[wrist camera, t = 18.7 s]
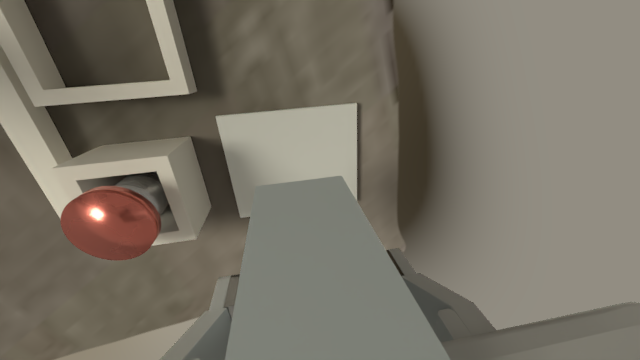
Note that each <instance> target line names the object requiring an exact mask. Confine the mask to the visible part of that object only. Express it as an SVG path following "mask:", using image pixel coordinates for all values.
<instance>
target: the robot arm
mask: <svg viewBox="0 0 640 360" xmlns="http://www.w3.org/2000/svg"><path fill="white" fill-rule="evenodd" d="M386 251H387V253H388V255H389V257H390V258H391V260H392V262H393V263H394V265H395V267H396V268H397V270H398V272H399V273H400V275H401V277H402V278H403V280H404V282H405V284H406V285H407V287H408V289H409V290H410V292H411V294H412V295H413V297H414V299H415V300H416V302H417V304H418V305H419V307H420V309H421V311H422V312H423V314H424V316H425V317H426V319H427V321H428V322H429V324H430V326H431V327H432V329H433V331H434V333H435V334H436V336H437V338H438V339H439V341H440V343H441V344H442V346H443V348H444V349H445V351H446V353H447V354H448V356H449V358H450V360H640V303H636V302H628V303H621V304H616V305H612V306H607V307H603V308H598V309H594V310H589V311H585V312H580V313H575V314H570V315H566V316H561V317H557V318H552V319H547V320H543V321H538V322H533V323H529V324H524V325H520V326H515V327H510V328H506V329H501V330H496V329H495V328H494V327H493V326H492V324H491V323H490V322H489V321H488V320H487V319H486V317H485V316H484V315H483V314H482V312H481V311H480V310H479V309H478V308H477V306H476V305H475V304H474V303H473V302H471V301H469V300H468V299H465V298H464V297H462V296H460V295H459V294H457V293H455V292H453V291H451V290H449V289H448V288H446V287H444V286H442V285H440V284H438V283H437V282H435V281H433V280H431V279H430V278H428V277H426V276H424V275H422V274H421V273H416V272H415V271H414V269H413V268H412V266H411V265H410V263H409V262H408V260H407V259H406V258H405V256H404V254H403V253H402V252H401V250H400V249H399V248H395V249H390V250H386ZM239 277H240V274H238V275H231V276H226V277H219V279H218V280H217V284H216V287H215V291H214V294H213V298H212V301H211V305H210V308H209V311H205V312H204V313H203V314H202V315H201V316H200V317H199V318H198V319H197V321H196V322H195V323H194V324H193V325H192V326H191V327H190V328H189V329H188V330H187V331H186V332H185V333H184V334H183V335H182V337H181V338H180V339H179V340H178V341H177V342H176V343H175V344H174V345H173V346H172V347H171V348H170V349H169V350H168V351H167V352H166V354H165V355H164V356H163V357H162V358H161V359H160V360H225V356H226V350H227V345H228V339H229V334H230V328H231V322H232V317H233V311H234V305H235V300H236V294H237V288H238V283H239Z"/></svg>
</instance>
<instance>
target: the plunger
mask: <svg viewBox="0 0 640 360" xmlns="http://www.w3.org/2000/svg"><path fill="white" fill-rule="evenodd" d="M168 205H169V202H168V200H167V197H166V195H165V192H164V189H163V187H162V184H161V182H160V179H159V177H158V174H157V171H154V172H146V173H137V174H129V175H128V176H127V177H125V178H124V179H123V180H121V181H120V182H119V183H117V184H116V185H114V186H100V187H95V188H92V189H90V190H87V191H86V192H84V193H82V194H81V195H79V196H78V197H76V198H75V199H73V200H72V201H70V202H69V203H68V204H67V205H66V206H65V208H64V209H63V211H62V214H61V227H62V230H63V232H64V234H65V235H66V237H67V238H68V239H69V241H70V242H71V243H72V244H74V245H75V246H76V247H77V248H79V249H80V250H82V251H84V252H85V253H87V254H90V255H92V256H95V257H98V258H102V259H107V260H127V259H132V258H135V257H137V256H140V255H142V254H143V253H145V252H146V251H147V250H148V249H149V248H150V247H151V245H152V244H153V243H154V241H155V240H156V238H157V237H158V235H159V233H160V231H161V218H160V215H161V214H162V212H163V211H164V210H165V209H166V207H167V206H168Z"/></svg>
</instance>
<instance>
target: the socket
mask: <svg viewBox="0 0 640 360" xmlns="http://www.w3.org/2000/svg"><path fill="white" fill-rule="evenodd" d="M146 3H147V6H148V9H149V12H150V16H151V19H152V22H153V26H154V29H155V32H156V35H157V39H158V42H159V45H160V48H161V52H162V55H163V58H164V62H165V65H166V68H167V71H168V75H169V78H170V80H159V81H145V82H132V83H119V84H106V85H93V86H79V87H66V86H65V84H64V82H63V80H62V78H61V76H60V74H59V72H58V70H57V67H56V65H55V63H54V61H53V59H52V57H51V55H50V53H49V51H48V49H47V47H46V45H45V43H44V40H43V38H42V36H41V34H40V32H39V30H38V28H37V26H36V24H35V22H34V20H33V18H32V16H31V13H30V11H29V9H28V7H27V5H26V3H25V1H24V0H0V123H1V125H2V127H3V128H4V130H5V131H6V133H7V135H8V136H9V138H10V139H11V141H12V143H13V144H14V146H15V147H16V149H17V151H18V152H19V154H20V155H21V157H22V159H23V160H24V162H25V163H26V165H27V166H28V168H29V170H30V171H31V173H32V174H33V176H34V178H35V179H36V181H37V182H38V184H39V186H40V187H41V189H42V190H43V192H44V194H45V195H46V197H47V198H48V200H49V202H50V203H51V205H52V206H53V208H54V210H55V211H56V213H57V214H58V216H59V217H60V219H61V214H62V211H63V209H64V208H65V206H66V205H67V204H68V203H69V202H70V200H69V199H68V197H67V195H66V194H65V192H64V190H63V188H62V187H61V185H60V183H59V182H58V180H57V178H56V176H55V175H54V173H53V171H52V170H51V168H53V167H55V166H57V165H59V164H62V163H64V162H66V161H68V160H70V159H72V157H71V155H70V153H69V151H68V149H67V147H66V145H65V144H64V142H63V140H62V138H61V136H60V134H59V132H58V130H57V129H56V127H55V125H54V123H53V121H52V119H51V117H50V115H49V114H48V112H47V110H46V108H45V106H51V105H63V104H75V103H87V102H99V101H112V100H124V99H136V98H148V97H160V96H172V95H184V94H191V93H194V92H197V88H196V84H195V81H194V77H193V73H192V69H191V66H190V62H189V58H188V54H187V51H186V47H185V43H184V39H183V36H182V32H181V28H180V24H179V21H178V17H177V13H176V9H175V6H174V2H173V0H146Z"/></svg>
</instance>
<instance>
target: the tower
mask: <svg viewBox="0 0 640 360" xmlns="http://www.w3.org/2000/svg"><path fill="white" fill-rule="evenodd" d="M51 170H52V171H53V173H54V175H55V176H56V178H57V180H58V182H59V183H60V185H61V187H62V188H63V190H64V192H65V194H66V195H67V197H68V199H69V200H70V201H72V200H73V199H75V198H76V197H78V196H79V195H81V194H82V193H84V192H86V191H87V190H90V189H92V188H95V187H100V186H114V185H116V184H117V183H119V182H120V181H121V180H123V179H124V178H125V177H127V176H128V174H137V173H146V172H154V171H157V174H158V177H159V179H160V182H161V184H162V187H163V189H164V192H165V195H166V197H167V200H168V202H169V205H168V206H167V207H166V209H165V210H164V211H163V212H162V214H161V215H160V218H161V231H160V233H159V235H158V237H157V238H156V240H155V241H154V243H153V244H152V245H151V246H153V245H160V244H167V243H173V242H180V241H187V240H194V239H197V237H198V235H199V233H200V231H201V228H202V226H203V224H204V222H205V220H206V218H207V215H208V213H209V211H210V209H211V207H212V206H211V203H210V200H209V196H208V193H207V190H206V186H205V183H204V180H203V176H202V173H201V170H200V166H199V163H198V160H197V156H196V153H195V150H194V146H193V143H192V140H191V136H189V137H179V138H169V139H159V140H149V141H140V142H130V143H120V144H110V145H101V146H99V147H96V148H94V149H92V150H90V151H88V152H86V153H83V154H81V155H79V156H77V157H75V158H72V159H70V160H68V161H66V162H64V163H62V164H59V165H57V166H55V167H53V168H51Z"/></svg>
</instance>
